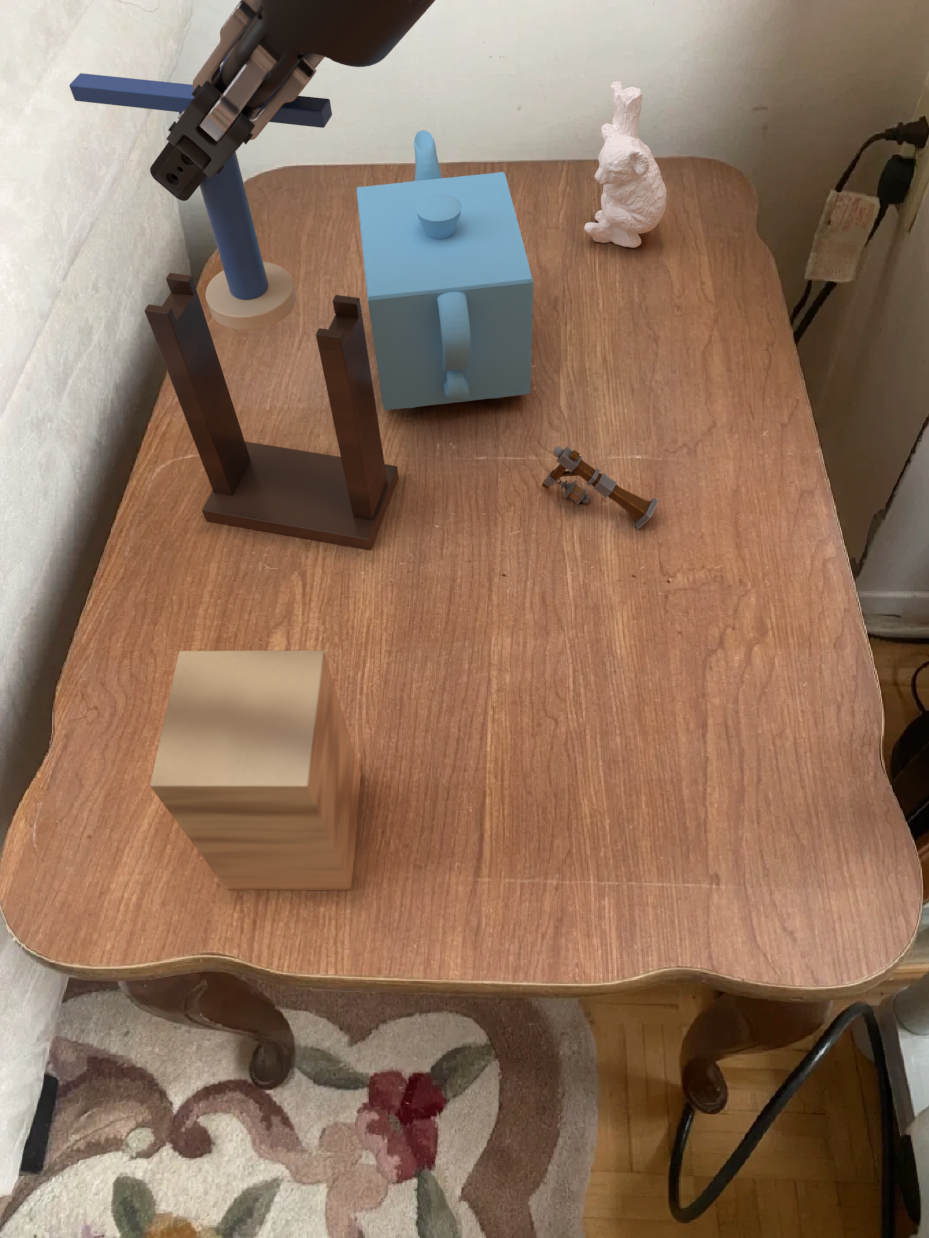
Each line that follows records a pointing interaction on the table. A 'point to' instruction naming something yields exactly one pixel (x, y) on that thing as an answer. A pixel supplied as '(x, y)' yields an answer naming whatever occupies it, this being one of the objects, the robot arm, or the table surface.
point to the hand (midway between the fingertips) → (180, 169)
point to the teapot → (446, 286)
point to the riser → (261, 768)
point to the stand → (274, 476)
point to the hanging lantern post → (596, 485)
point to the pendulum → (221, 203)
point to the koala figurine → (626, 177)
